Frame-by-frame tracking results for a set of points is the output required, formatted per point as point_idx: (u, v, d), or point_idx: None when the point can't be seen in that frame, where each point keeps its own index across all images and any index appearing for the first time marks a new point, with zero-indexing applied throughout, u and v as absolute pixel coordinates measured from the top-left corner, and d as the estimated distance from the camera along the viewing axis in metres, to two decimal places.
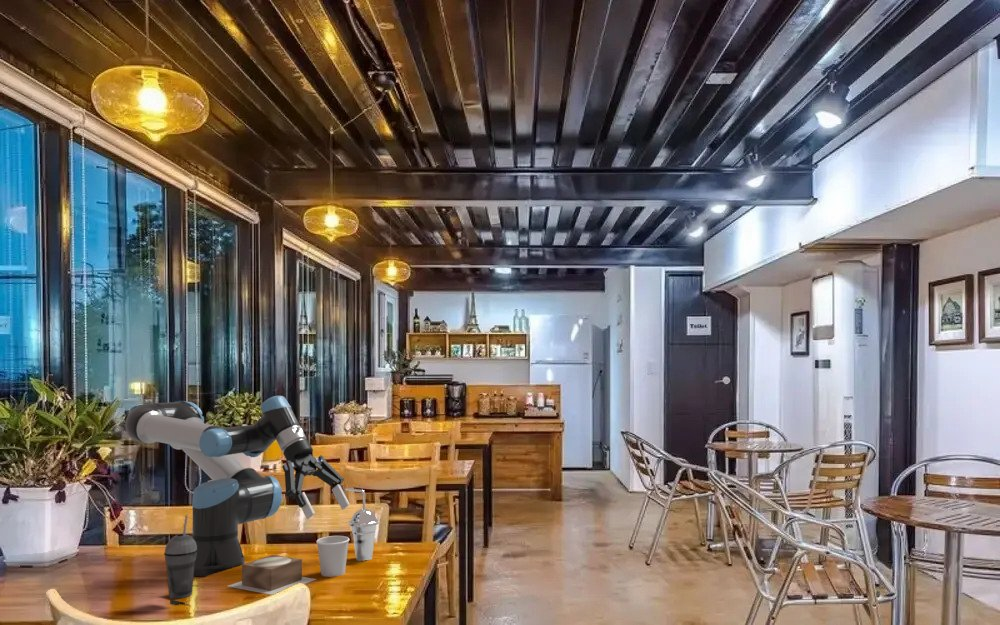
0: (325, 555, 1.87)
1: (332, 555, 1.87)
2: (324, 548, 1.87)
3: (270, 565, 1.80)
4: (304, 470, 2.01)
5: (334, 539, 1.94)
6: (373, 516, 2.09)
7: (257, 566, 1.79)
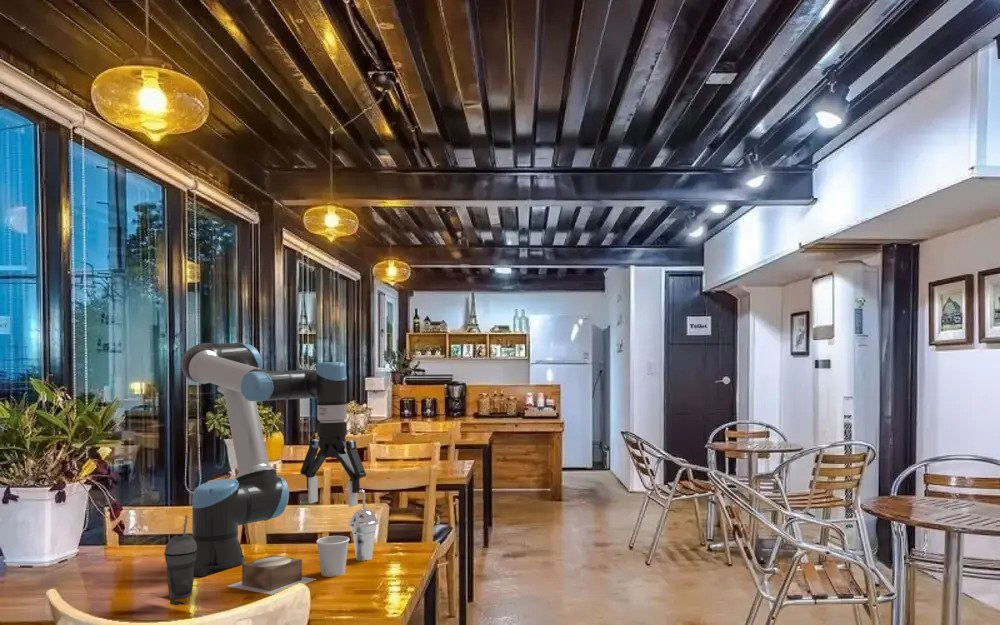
0: (325, 555, 1.87)
1: (332, 555, 1.87)
2: (324, 548, 1.87)
3: (270, 565, 1.80)
4: (318, 455, 1.93)
5: (334, 539, 1.94)
6: (373, 516, 2.09)
7: (257, 566, 1.79)
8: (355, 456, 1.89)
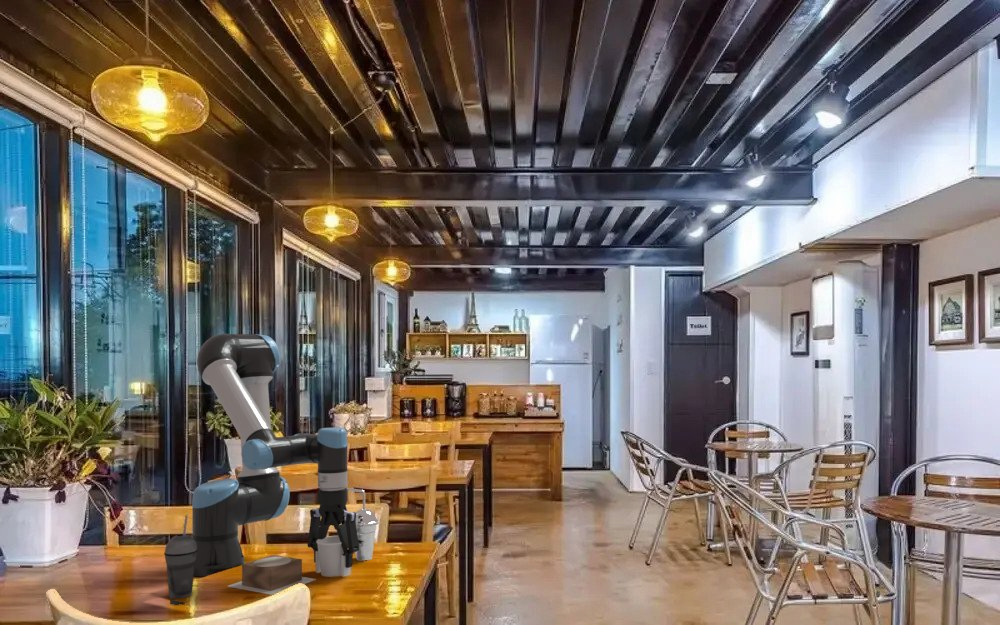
0: (325, 555, 1.87)
1: (332, 554, 1.87)
2: (324, 548, 1.87)
3: (270, 565, 1.80)
4: (321, 524, 1.91)
5: (334, 539, 1.94)
6: (373, 516, 2.09)
7: (257, 566, 1.79)
8: (352, 530, 1.88)
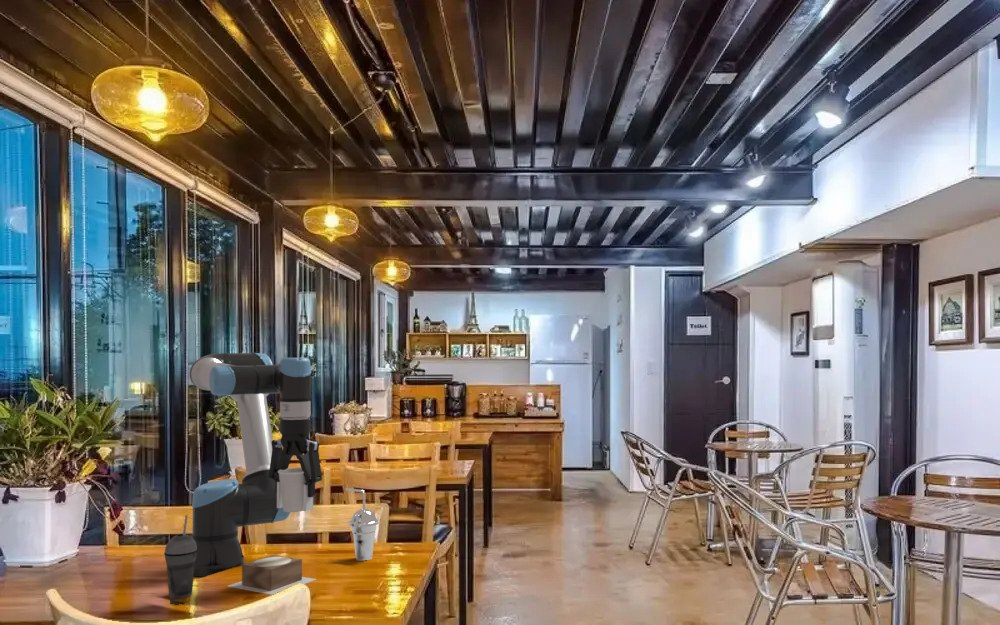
0: (287, 484, 1.84)
1: (294, 484, 1.84)
2: (286, 477, 1.84)
3: (270, 565, 1.80)
4: (283, 454, 1.88)
5: (296, 471, 1.91)
6: (373, 516, 2.09)
7: (257, 566, 1.79)
8: (315, 459, 1.85)
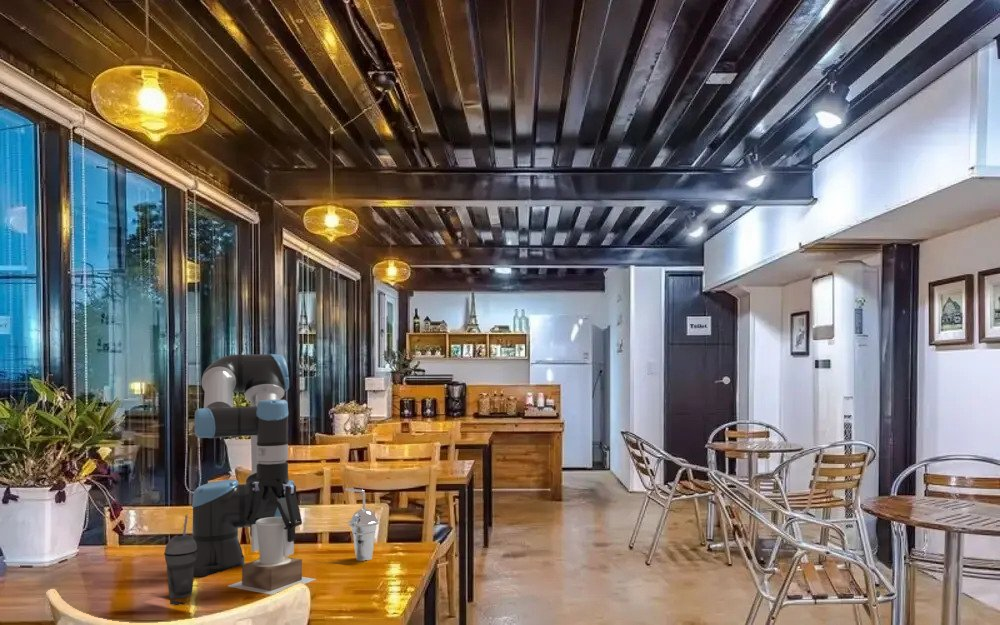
0: (264, 536, 1.80)
1: (270, 535, 1.80)
2: (263, 528, 1.80)
3: (270, 565, 1.80)
4: (259, 499, 1.84)
5: (275, 520, 1.88)
6: (373, 516, 2.09)
7: (257, 566, 1.79)
8: (293, 503, 1.81)
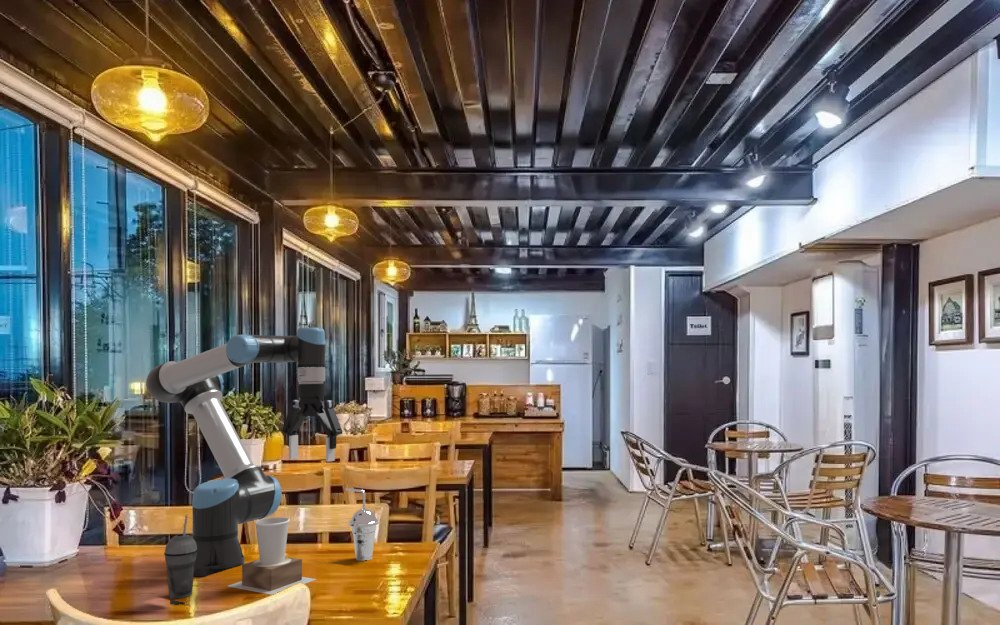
0: (263, 536, 1.80)
1: (270, 536, 1.80)
2: (262, 529, 1.80)
3: (270, 565, 1.80)
4: (299, 414, 2.06)
5: (274, 521, 1.87)
6: (373, 516, 2.09)
7: (257, 566, 1.79)
8: (332, 415, 2.02)
